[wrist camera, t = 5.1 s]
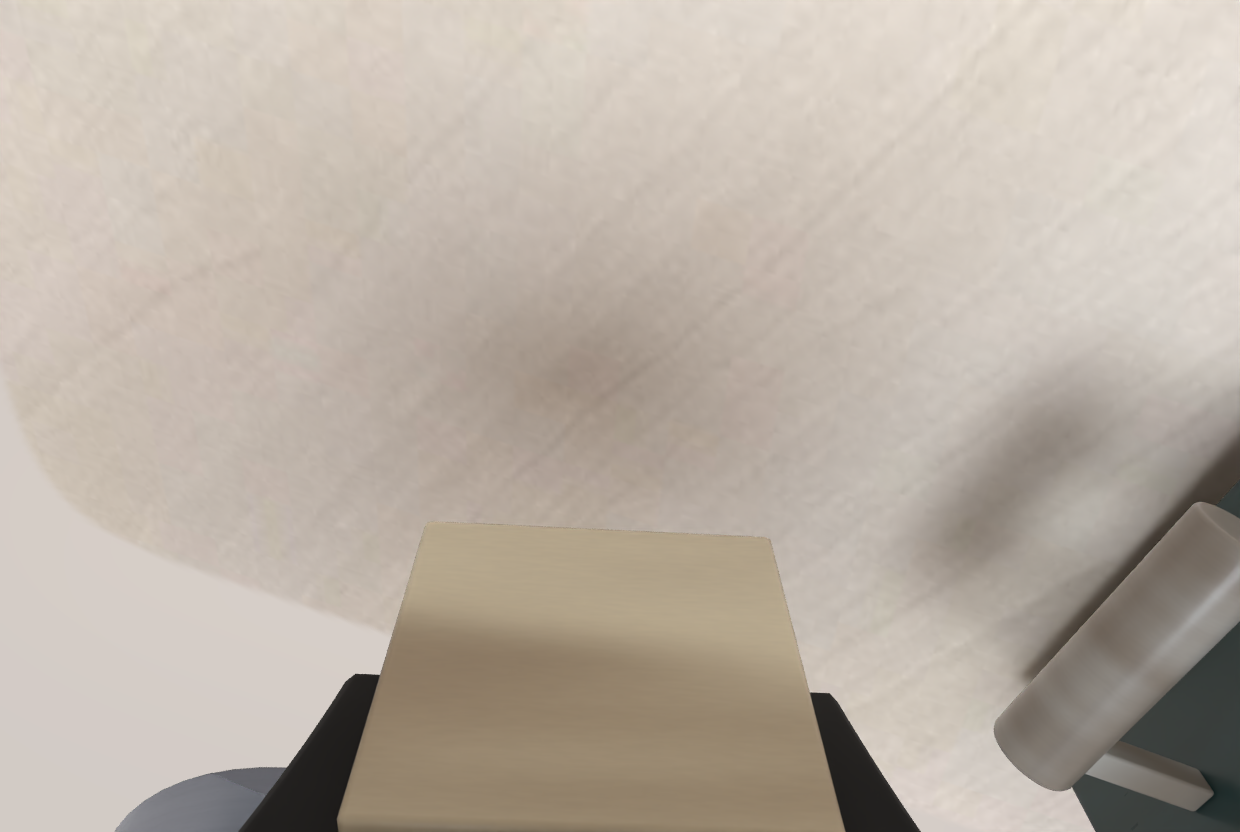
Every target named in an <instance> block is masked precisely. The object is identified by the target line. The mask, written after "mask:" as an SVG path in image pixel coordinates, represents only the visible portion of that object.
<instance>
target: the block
mask: <svg viewBox="0 0 1240 832" xmlns="http://www.w3.org/2000/svg"><path fill="white" fill-rule="evenodd" d="M337 824H338V832H845V828H844V824H843V820H842V816H841V813H840V809H839V805H838V801H837V797H836V793H835V789H834V785H833V781H832V778H831V774H830V770H829V766H828V762H827V758H826V754H825V750H824V746H823V742H822V739H821V735H820V731H819V727H818V723H817V719H816V715H815V711H814V707H813V704H812V700H811V696H810V692H809V688H808V684H807V680H806V676H805V672H804V669H803V665H802V661H801V657H800V653H799V649H798V645H797V641H796V637H795V634H794V630H793V626H792V622H791V618H790V614H789V610H788V606H787V602H786V599H785V595H784V591H783V587H782V583H781V579H780V575H779V571H778V567H777V564H776V560H775V556H774V552H773V548H772V544H771V541H770V539H769V538H766V537H752V536H731V535H710V534H689V533H668V532H647V531H626V530H605V529H584V528H563V527H542V526H521V525H500V524H479V523H458V522H437V521H431V522H428V523H427V524H426V525H425V527H424V530H423V534H422V537H421V540H420V544H419V547H418V550H417V554H416V557H415V560H414V564H413V567H412V570H411V574H410V577H409V580H408V584H407V587H406V590H405V594H404V597H403V600H402V604H401V607H400V610H399V614H398V617H397V620H396V624H395V627H394V630H393V634H392V637H391V640H390V644H389V647H388V650H387V654H386V657H385V661H384V664H383V667H382V670H381V674H380V677H379V680H378V684H377V687H376V690H375V694H374V697H373V700H372V704H371V707H370V710H369V714H368V717H367V720H366V724H365V727H364V730H363V734H362V737H361V740H360V744H359V747H358V750H357V754H356V757H355V760H354V764H353V767H352V770H351V774H350V777H349V780H348V784H347V787H346V790H345V794H344V797H343V800H342V804H341V807H340V810H339V814H338V817H337Z"/></svg>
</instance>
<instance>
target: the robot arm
mask: <svg viewBox="0 0 1240 832" xmlns="http://www.w3.org/2000/svg"><path fill="white" fill-rule="evenodd" d="M379 677H380V675H371V674H355V675H353V676H352V677H351V678H349V679H348V680H347V681H346V682H345V684H344V685H343V687H342V688H341V690H340V691H339V693H338V694H337V696H336V698H335V699H334V701H333V702H332V704H331V705H330V707H329V708H328V710H327V711H326V713H325V714H324V716H323V718H322V719H321V720H320V722H319V723H318V725H317V726H316V728H315V729H314V731H313V732H312V734H311V735H310V736H309V738H308V739H307V741H306V742H305V744H304V745H303V746H302V748H301V749H300V750H299V752H298V753H297V755H296V756H295V757H294V759H293V760H292V761H291V763H290V764H289V766H288V767H287V768H286V770H285V771H284V772H283V774H282V775H281V777H280V778H279V779H278V781H277V782H276V783H275V785H274V786H273V787H272V789H271V790H270V791H269V792H268V794H267V795H266V796H265V798H264V799H263V800H262V802H261V803H260V804H259V805H258V807H257V808H256V809H255V811H254V812H253V813H252V814H251V816H250V817H249V818H248V820H247V821H246V822H245V824H244V825H243V826H242V827H241V829H240V830H239V831H238V832H338V824H337V817H338V814H339V810H340V807H341V804H342V800H343V797H344V794H345V790H346V787H347V784H348V780H349V777H350V774H351V770H352V767H353V764H354V760H355V757H356V754H357V750H358V747H359V744H360V740H361V737H362V734H363V730H364V727H365V724H366V720H367V717H368V714H369V710H370V707H371V704H372V700H373V697H374V694H375V690H376V687H377V684H378V680H379ZM810 696H811V700H812V704H813V707H814V711H815V715H816V719H817V723H818V727H819V731H820V735H821V739H822V742H823V746H824V750H825V754H826V758H827V762H828V766H829V770H830V774H831V778H832V781H833V785H834V789H835V793H836V797H837V801H838V805H839V809H840V813H841V816H842V820H843V824H844V828H845V832H921V831H920V830H919V829H918V827H917V826H916V824H915V823H914V821H913V820H912V818H911V817H910V815H909V814H908V812H907V811H906V809H905V808H904V807H903V805H902V804H901V802H900V801H899V799H898V797H897V796H896V794H895V793H894V791H893V790H892V788H891V787H890V785H889V784H888V782H887V781H886V779H885V778H884V776H883V775H882V773H881V772H880V770H879V768H878V767H877V765H876V764H875V762H874V761H873V759H872V757H871V756H870V754H869V753H868V751H867V750H866V748H865V746H864V745H863V743H862V741H861V740H860V738H859V737H858V735H857V733H856V732H855V730H854V729H853V727H852V725H851V724H850V722H849V720H848V719H847V717H846V715H845V714H844V712H843V710H842V709H841V707H840V705H839V704H838V702H837V701H836V700H835V699H834V698H833V697H832V695H831V694H830V693H810Z"/></svg>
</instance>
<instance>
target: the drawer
mask: <svg viewBox="0 0 1240 832" xmlns="http://www.w3.org/2000/svg"><path fill="white" fill-rule="evenodd" d="M994 735H995V738H996V741H997V743H998V745H999V746H1000V748H1001V750H1002V751H1003V753H1004V754H1005V755H1006V757H1007V758H1008V759H1009V760H1010V761H1011V762H1012V764H1013V765H1014V766H1015V767H1016V768H1017V769H1018V770H1020V771H1021V772H1022V773H1023V774H1024V775H1026V776H1027V777H1028V778H1029V779H1031V780H1032V781H1034V782H1035V783H1037V784H1039V785H1041V786H1043V787H1045V788H1047V789H1050V790H1053V791H1065V790H1068V789H1070V788H1071V787H1072V788H1073V790H1074V792H1075V794H1076V796H1077V797H1078V799H1079V801H1080V803H1081V805H1082V807H1083V809H1084V811H1085V813H1086V814H1087V816H1088V818H1089V820H1090V822H1091V824H1092V826H1093V828H1094V830H1095V831H1096V832H1240V480H1239V481H1238V482H1237V483H1236V484H1235V485H1234V486H1233V487H1232V488H1231V489H1230V490H1229V492H1228V493H1227V494H1226V495H1225V496H1224V497H1223V498H1222V499H1221V500H1220V501H1219V502H1218V503H1217V504H1216V506H1214V505H1212V504H1209V503H1205V502H1197V503H1194V504H1193V505H1192V506H1191V507H1190V508H1189V509H1188V510H1187V511H1186V512H1185V514H1184V515H1183V516H1182V517H1181V518H1180V519H1179V520H1178V521H1177V522H1176V523H1175V525H1174V526H1173V527H1172V528H1171V529H1170V530H1169V531H1168V532H1167V533H1166V534H1165V535H1164V537H1163V538H1162V539H1161V540H1160V541H1159V542H1158V543H1157V544H1156V545H1155V546H1154V548H1153V549H1152V550H1151V551H1150V552H1149V553H1148V554H1147V555H1146V556H1145V557H1144V559H1143V560H1142V561H1141V562H1140V563H1139V564H1138V565H1137V566H1136V567H1135V568H1134V569H1133V571H1132V572H1131V573H1130V574H1129V575H1128V576H1127V577H1126V578H1125V579H1124V580H1123V582H1122V583H1121V584H1120V585H1119V586H1118V587H1117V588H1116V589H1115V590H1114V591H1113V592H1112V594H1111V595H1110V596H1109V597H1108V598H1107V599H1106V600H1105V601H1104V602H1103V603H1102V605H1101V606H1100V607H1099V608H1098V609H1097V610H1096V611H1095V612H1094V613H1093V614H1092V616H1091V617H1090V618H1089V619H1088V620H1087V621H1086V622H1085V623H1084V624H1083V625H1082V626H1081V628H1080V629H1079V630H1078V631H1077V632H1076V633H1075V634H1074V635H1073V636H1072V637H1071V639H1070V640H1069V641H1068V642H1067V643H1066V644H1065V645H1064V646H1063V647H1062V648H1061V649H1060V651H1059V652H1058V653H1057V654H1056V655H1055V656H1054V657H1053V658H1052V659H1051V660H1050V662H1049V663H1048V664H1047V665H1046V666H1045V667H1044V668H1043V669H1042V670H1041V671H1040V672H1039V674H1038V675H1037V676H1036V677H1035V678H1034V679H1033V680H1032V681H1031V682H1030V683H1029V685H1028V686H1027V687H1026V688H1025V689H1024V690H1023V691H1022V692H1021V693H1020V694H1019V696H1018V697H1017V698H1016V699H1015V700H1014V701H1013V702H1012V703H1011V704H1010V705H1009V706H1008V708H1007V709H1006V710H1005V711H1004V712H1003V713H1002V714H1001V715H1000V716H999V717H998V719H997V720H996V721H995V725H994Z"/></svg>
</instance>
